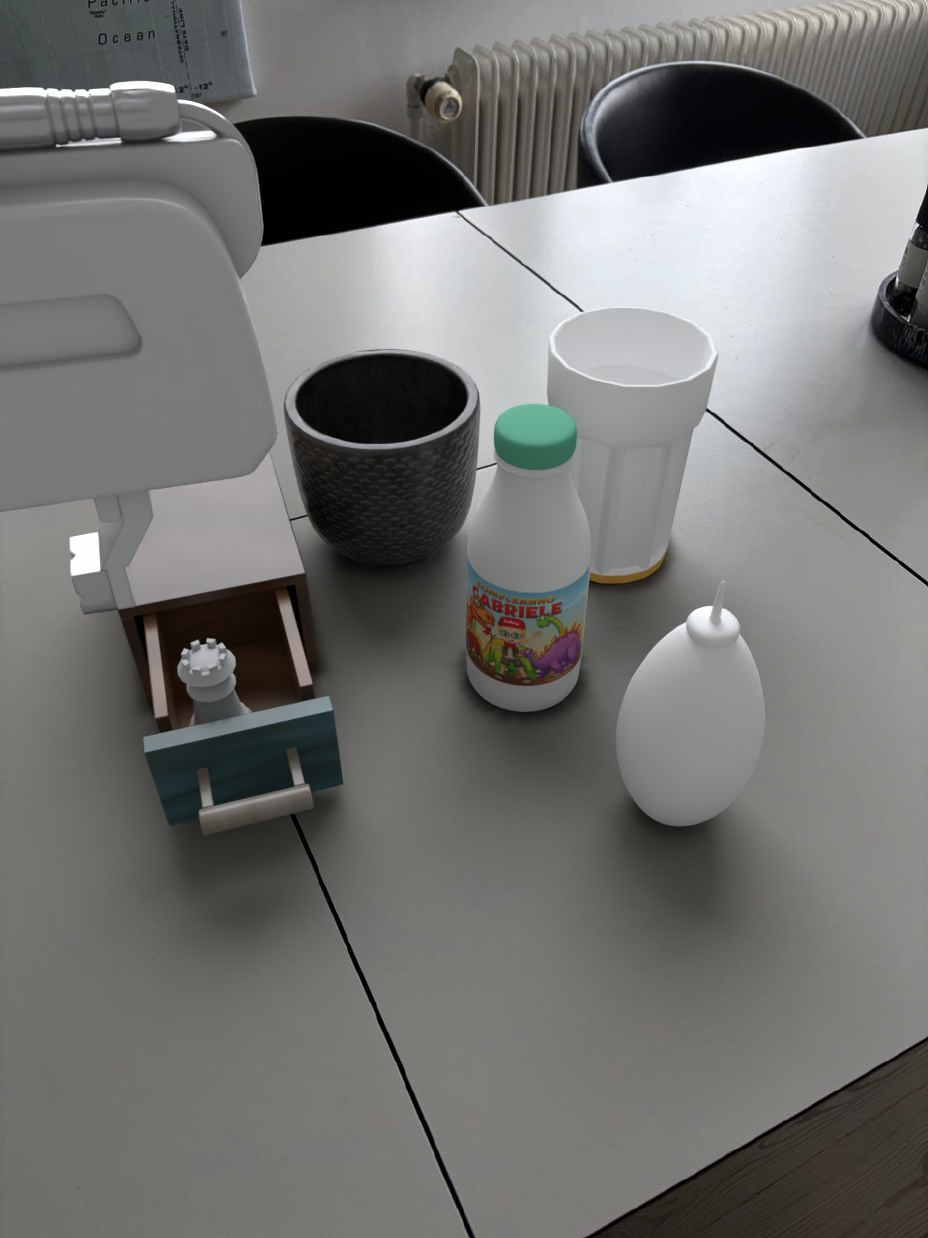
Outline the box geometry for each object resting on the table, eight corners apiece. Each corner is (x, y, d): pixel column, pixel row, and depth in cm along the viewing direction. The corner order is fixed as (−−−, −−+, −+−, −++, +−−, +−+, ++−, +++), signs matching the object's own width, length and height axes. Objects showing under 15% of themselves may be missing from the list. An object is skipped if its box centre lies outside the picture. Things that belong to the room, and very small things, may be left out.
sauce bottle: (586, 772, 63) (615, 549, 50) (697, 740, 65) (752, 517, 52) (642, 875, 57) (691, 653, 45) (762, 837, 59) (840, 614, 47)
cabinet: (319, 667, 69) (305, 572, 64) (147, 704, 67) (117, 609, 61) (283, 540, 80) (269, 449, 74) (133, 568, 77) (105, 476, 71)
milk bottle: (468, 633, 72) (468, 384, 58) (576, 635, 72) (601, 387, 58) (464, 714, 66) (463, 460, 53) (581, 717, 66) (611, 463, 52)
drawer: (359, 840, 58) (349, 767, 53) (176, 887, 56) (149, 815, 51) (303, 636, 70) (291, 562, 66) (151, 668, 68) (128, 593, 63)
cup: (521, 511, 82) (530, 312, 70) (653, 496, 84) (684, 299, 72) (555, 603, 74) (572, 395, 62) (701, 584, 76) (745, 378, 64)
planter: (378, 624, 73) (365, 476, 64) (267, 535, 80) (243, 392, 71) (515, 541, 79) (521, 398, 71) (402, 467, 87) (394, 328, 78)
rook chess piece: (199, 784, 60) (172, 693, 54) (182, 731, 63) (155, 640, 57) (272, 760, 61) (253, 668, 55) (252, 709, 64) (232, 617, 58)
